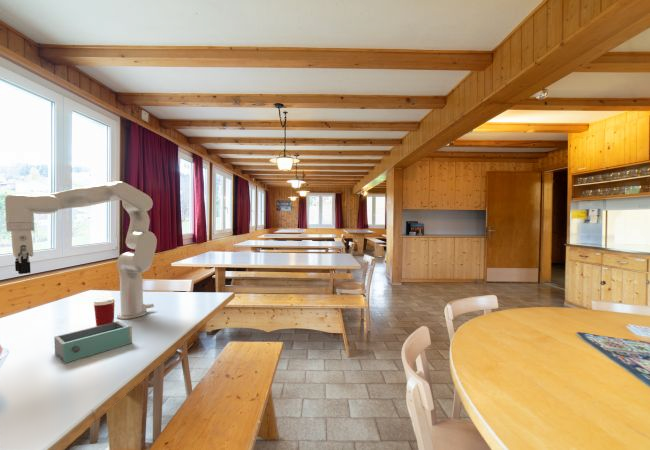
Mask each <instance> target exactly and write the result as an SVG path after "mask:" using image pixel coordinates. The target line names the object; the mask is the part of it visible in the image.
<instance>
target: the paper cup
mask: <svg viewBox="0 0 650 450" xmlns="http://www.w3.org/2000/svg"><path fill="white" fill-rule="evenodd" d="M115 302H116V300H115V298H114V297H103V298H98V299H96V300H94V302H93V304H92V305H93V308H94V309H93V310H94V316H95V317H94V318H95V324H96V325H95V327H96V326H100V325H104V324H108V323H113V322H115Z"/></svg>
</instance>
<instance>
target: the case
mask: <svg viewBox="0 0 650 450" xmlns="http://www.w3.org/2000/svg"><path fill="white" fill-rule="evenodd" d="M127 326H128V325H126V324H124V323H122V322H121V321H114V322H113V323H108V324H104V325H100V326H96V325H95V326H93V327H89V328H84V329H80V330H77V331H73V332H68V333H64V334H59V335H54V337H53V338H54V353H55V355H56V356H57V357H58V359H60V360H61V362H62V363H64V361H63V343H65V342H69V341H73V340H77V339H81V338H84V337H88V336H92V335H96V334H100V333H104V332H108V331H111V330H115V329H119V328H123V327H127Z"/></svg>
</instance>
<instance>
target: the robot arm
mask: <svg viewBox="0 0 650 450" xmlns="http://www.w3.org/2000/svg"><path fill="white" fill-rule="evenodd" d="M115 201H122V202H121V203H122V207H123V209H124V210H125V211H126V212H127V214H128V215H129V219H130V220H129V226H128V230H127V232H126V233H127V234H126V238H125V245H126V248H129V249H131V250H134V251H126V252H124V253H121V254H120V255H119V256H118V258H117V261H116V266H117V271H118V276H119V294H120V295H119V296H120V298H119V299H120V313H119V312H118V314H117V317H116V318H118V319H119V320H128V319H129V320H130V319H135V318H139V317H142V316H145V315H146V314H147V313H148V309H150V308H154V307H155V305H154V303H150V304H149V303H146V304H145V303H144V293H143V291H144V288H143V287H144V285H143V284H144V283H143V282H144V281H143V275H142V273H145V272H147V271H149V270H150V269H151V267H152V264H153V261H154V257H155V254H156V250H157V245H158V244H157V243H158V239H157V237H156V235H155V233H153V232H152V231H149V227H150V222H151V220H150V216H149V214H148V212H149V211H150V210H151V209H152V208H153V205H154V203H153V199H152V198H151V196H149V195H148V194H146V193H145V192H143V191H141V190H140V189H137V188H136V187H134V186H133V185H130V184H129V183H126V182H124V181H112V182H105V183H100V184H95V185H89V186H88V185H87V186H82V187H76V188H72V189H67V190H62V191H57V192H52V193H45V194H38V195H29V194H15V193H14V194H7V195H5V197H4V206H5V207H4V208H5V225H6V226H5V227H6V232H7V233H8V232H9V233H11V235H10V237H11V246H12V247H11V248H12V254H13V256H14V257H15V260H14V267H15V269H14V270H15V272H18V275H23V274H31V273H32V272H31V262H30V257H33V256H34V255H35V254H34V245H33V234H32V232H34V231H35V216H34V215H35V214H36V215H46V214H47V215H49V214H55V213H56V212H58V211H61V210H66V209H73V208H84V207H86V208H87V207H91V206H96V205H100V204H104V203H109V202H115Z"/></svg>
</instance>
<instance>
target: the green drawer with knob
mask: <svg viewBox="0 0 650 450" xmlns="http://www.w3.org/2000/svg"><path fill="white" fill-rule="evenodd" d="M126 326H127V327H123V328H119V329H115V330H111V331H108V332H104V333H100V334H96V335H92V336H88V337H84V338H81V339H77V340H73V341H69V342H65V343H63V361H64V362H63V363H64V364H65V363H68V362H71V361H75V360H79V359H83V358H86V357H89V356H92V355H96V354H99V353H102V352H105V351H108V350H112V349H116V348H119V347H122V346H126V345H129V344H133V326H132V325H126Z"/></svg>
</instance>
